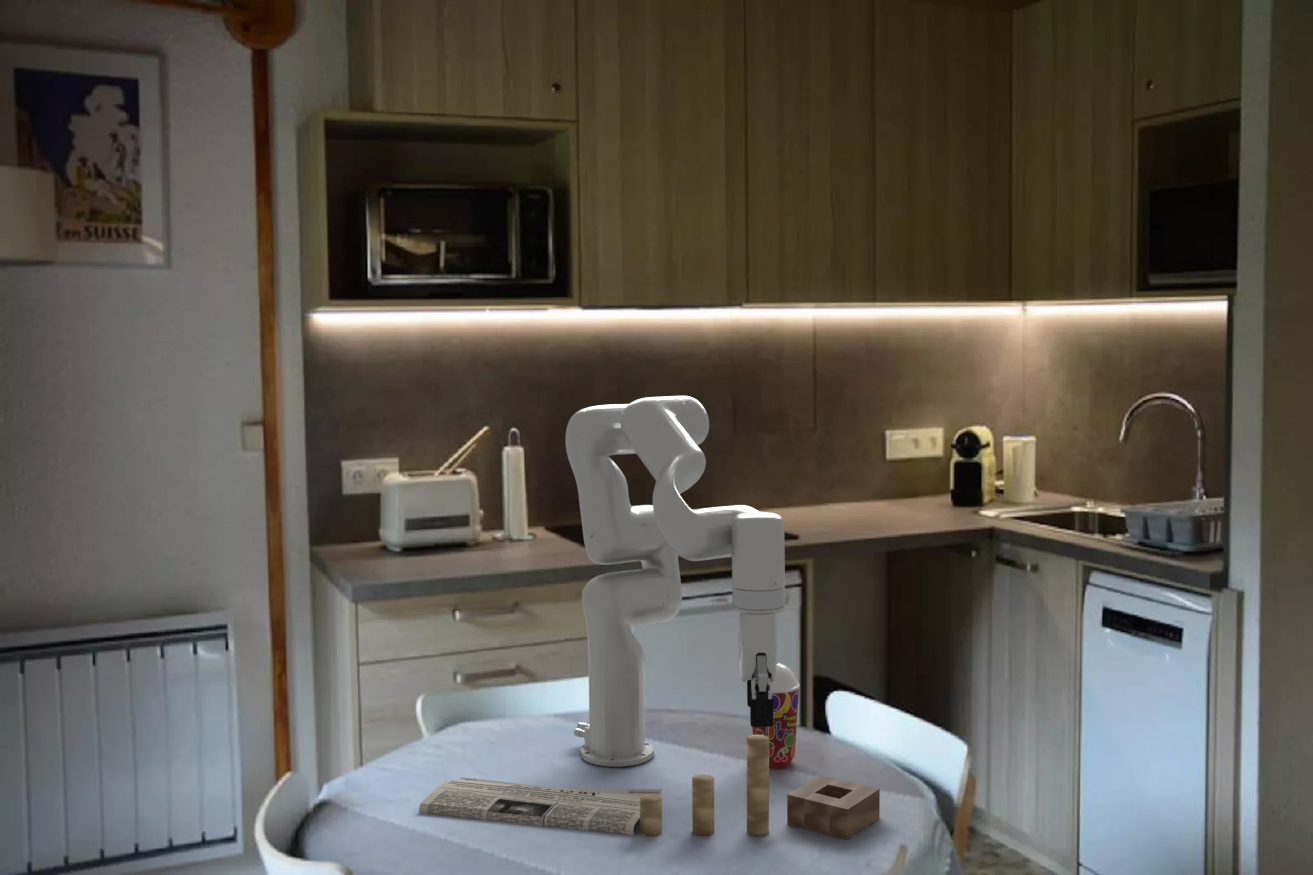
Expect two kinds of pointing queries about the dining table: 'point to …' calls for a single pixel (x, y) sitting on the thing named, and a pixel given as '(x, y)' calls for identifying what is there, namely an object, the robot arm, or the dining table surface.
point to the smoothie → (782, 718)
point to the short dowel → (650, 815)
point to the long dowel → (757, 785)
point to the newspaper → (539, 804)
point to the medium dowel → (703, 804)
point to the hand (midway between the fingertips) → (760, 716)
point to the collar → (833, 806)
